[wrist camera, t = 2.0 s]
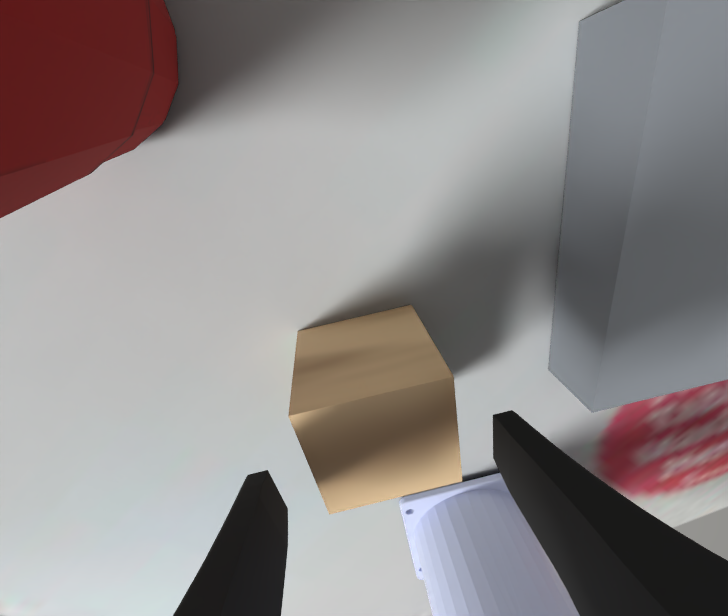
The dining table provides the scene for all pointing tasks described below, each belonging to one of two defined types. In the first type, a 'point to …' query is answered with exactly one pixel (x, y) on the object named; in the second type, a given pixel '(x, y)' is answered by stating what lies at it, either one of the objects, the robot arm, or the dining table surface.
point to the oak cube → (374, 409)
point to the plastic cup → (78, 88)
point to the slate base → (645, 205)
